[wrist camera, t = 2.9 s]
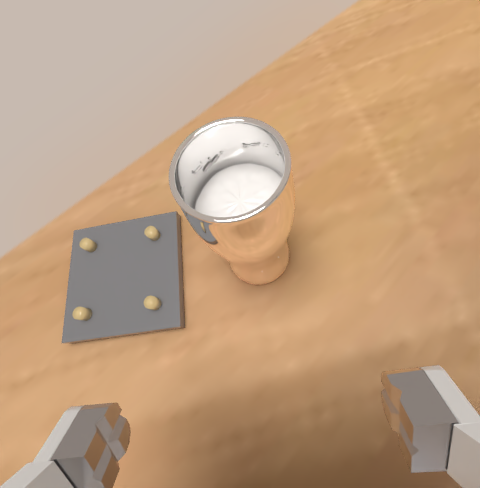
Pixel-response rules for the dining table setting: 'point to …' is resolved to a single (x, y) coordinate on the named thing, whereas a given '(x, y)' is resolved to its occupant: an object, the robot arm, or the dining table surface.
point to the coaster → (125, 279)
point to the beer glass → (238, 194)
